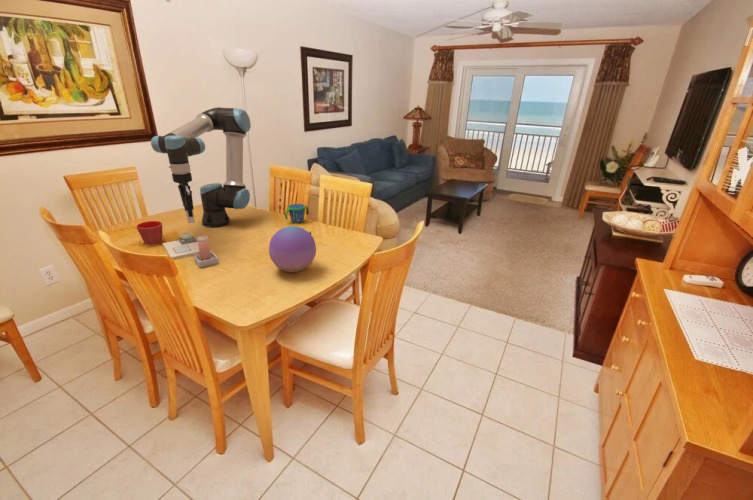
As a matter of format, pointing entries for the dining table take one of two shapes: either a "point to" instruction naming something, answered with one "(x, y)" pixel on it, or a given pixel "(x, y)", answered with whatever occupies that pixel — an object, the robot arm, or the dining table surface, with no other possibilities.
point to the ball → (292, 249)
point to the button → (186, 236)
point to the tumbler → (203, 247)
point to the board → (182, 248)
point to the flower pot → (150, 232)
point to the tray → (206, 261)
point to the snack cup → (296, 212)
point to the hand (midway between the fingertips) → (191, 222)
